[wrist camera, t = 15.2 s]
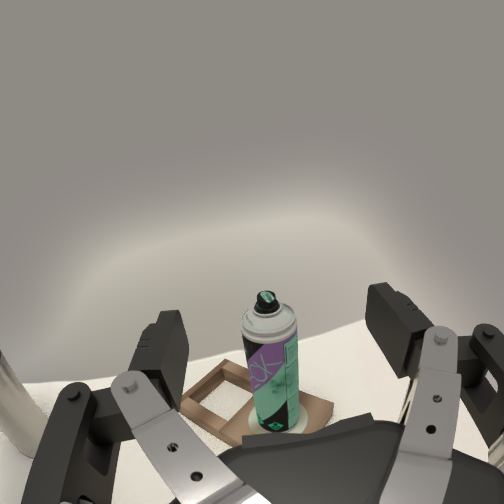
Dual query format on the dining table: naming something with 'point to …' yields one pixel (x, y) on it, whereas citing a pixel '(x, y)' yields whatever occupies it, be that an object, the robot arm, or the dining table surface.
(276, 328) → the spray can
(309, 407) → the walnut tray
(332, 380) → the dining table surface
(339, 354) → the dining table surface
